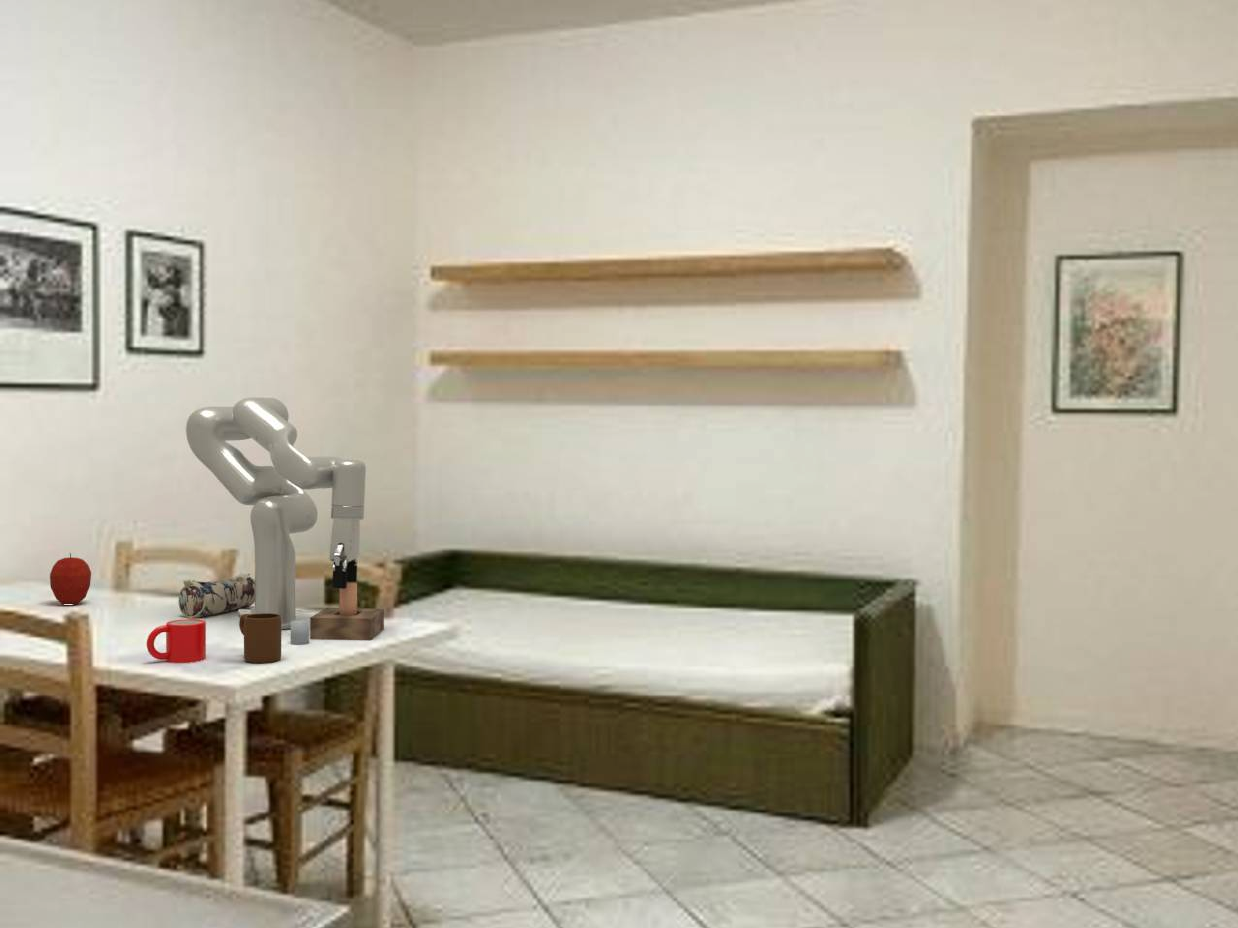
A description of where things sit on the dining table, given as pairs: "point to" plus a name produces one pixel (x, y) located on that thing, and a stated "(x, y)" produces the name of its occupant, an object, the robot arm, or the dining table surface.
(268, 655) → the mug
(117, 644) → the dining table surface
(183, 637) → the mug
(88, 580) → the apple
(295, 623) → the short pin
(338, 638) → the walnut hole block
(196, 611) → the pencil case
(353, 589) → the long pin
